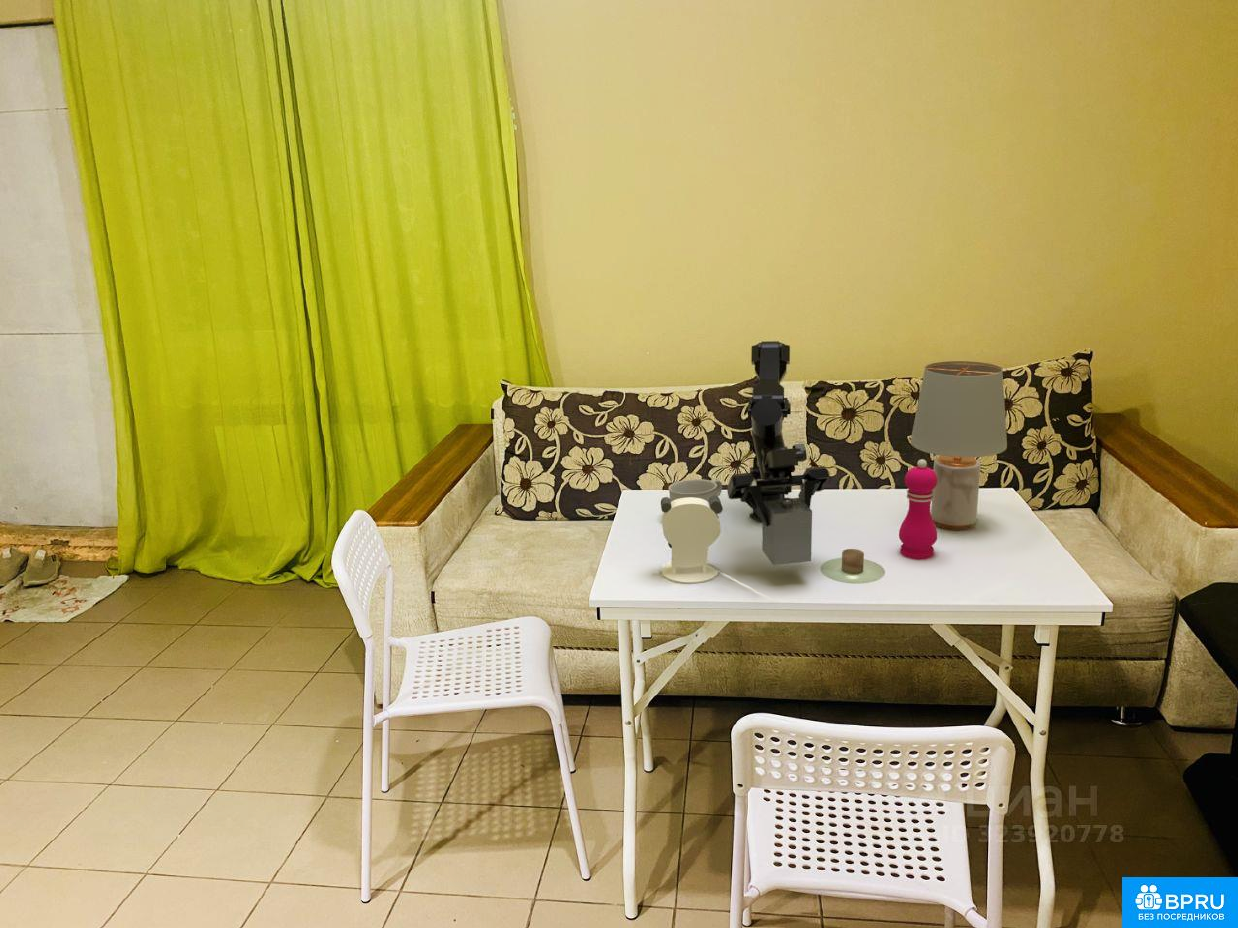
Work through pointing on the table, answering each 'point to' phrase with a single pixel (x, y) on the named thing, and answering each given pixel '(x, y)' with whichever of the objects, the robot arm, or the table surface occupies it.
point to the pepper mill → (919, 513)
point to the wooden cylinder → (852, 561)
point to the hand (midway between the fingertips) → (787, 523)
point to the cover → (787, 531)
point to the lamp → (959, 433)
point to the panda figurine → (690, 538)
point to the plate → (868, 575)
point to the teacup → (695, 489)
